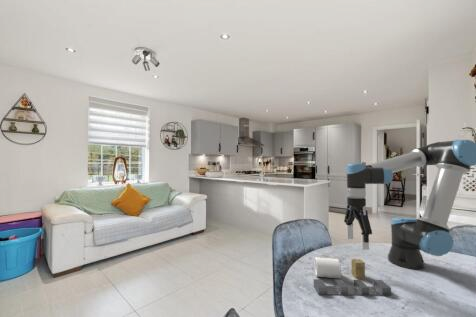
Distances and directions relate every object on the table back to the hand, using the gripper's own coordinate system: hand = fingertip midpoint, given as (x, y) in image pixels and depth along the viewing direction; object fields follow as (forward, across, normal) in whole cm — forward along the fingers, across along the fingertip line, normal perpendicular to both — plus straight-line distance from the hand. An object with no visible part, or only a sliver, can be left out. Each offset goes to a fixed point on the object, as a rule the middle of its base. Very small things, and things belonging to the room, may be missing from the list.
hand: (357, 243), depth 103 cm
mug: (+15, -2, -14) cm, 20 cm away
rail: (+14, +12, -9) cm, 21 cm away
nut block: (+15, 0, 0) cm, 15 cm away
